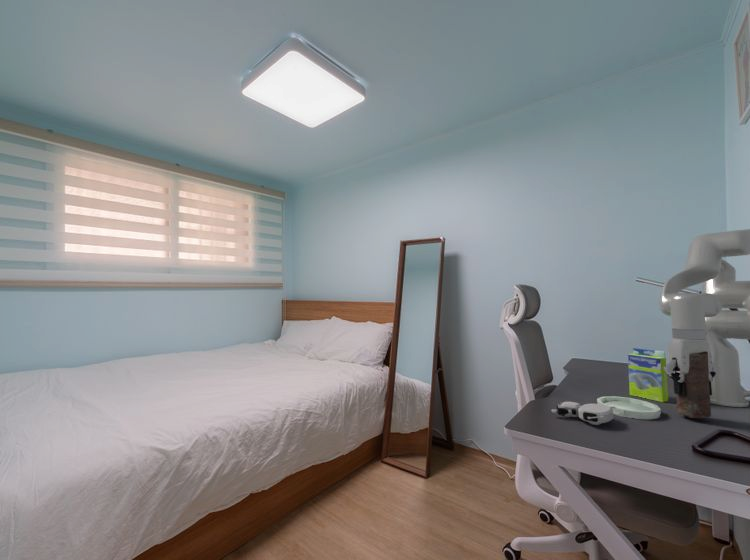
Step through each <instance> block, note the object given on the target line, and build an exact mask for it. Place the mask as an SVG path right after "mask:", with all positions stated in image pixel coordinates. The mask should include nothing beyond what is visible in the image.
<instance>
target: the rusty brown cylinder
mask: <svg viewBox="0 0 750 560" xmlns="http://www.w3.org/2000/svg"><path fill="white" fill-rule="evenodd" d="M677 367H678V366H677ZM678 371H680V368H679V367H678ZM678 376H680V374H678ZM683 382H684V383H685V384H686V396H681V395H678V394H676V412H677V413H678V414H681V415H683V416H685V417H686V418H690V419H700V418H701V419H709V418H711V417H712V411H711V410H712V409H711V408H712V407H711V404H712V403H710V389H709V369H708V352H707V351H706V352H702V353H699V354H691V355H689V373H688V374H686V376H685V379H684V381H683Z"/></svg>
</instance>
